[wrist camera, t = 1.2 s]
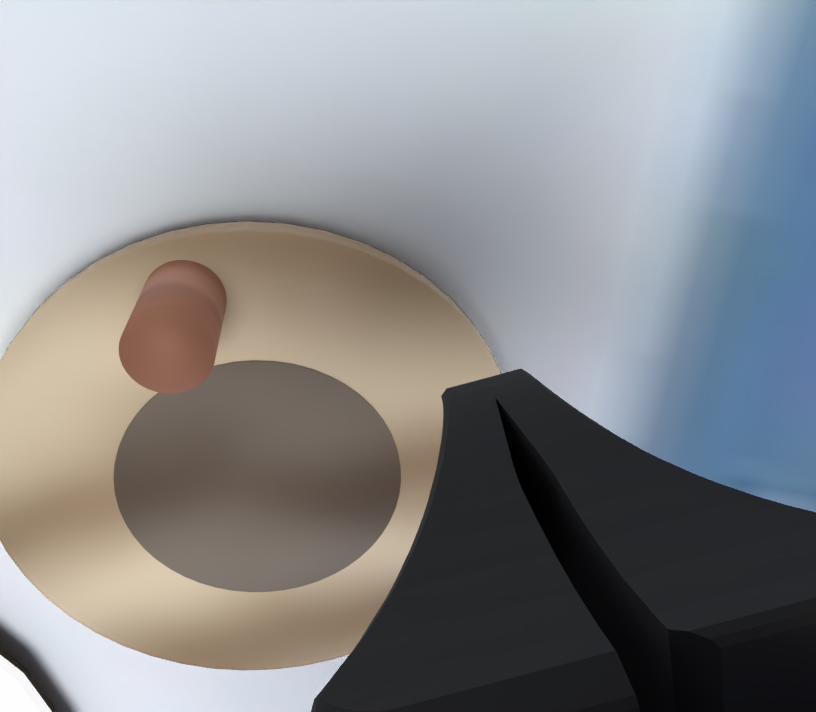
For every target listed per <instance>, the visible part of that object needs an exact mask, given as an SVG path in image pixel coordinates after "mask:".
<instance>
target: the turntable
mask: <svg viewBox="0 0 816 712" xmlns="http://www.w3.org/2000/svg"><path fill="white" fill-rule="evenodd" d="M499 374H501V373H500V371H499V368H498V366H497V364H496V362H495V360H494V358H493V355H492V353H491V351H490V349H489V347H488V346H487V344H486V343H485V341H484V340H483V338H482V337H481V335H480V334H479V332H478V331H477V329H476V328H475V326H474V325H473V323H472V322H471V321H470V320H469V318H468V317H467V316H466V315H465V314H464V313H463V312H462V311H461V309H460V308H459V307H458V306H457V305H456V304H455V303H454V302H453V300H452V299H451V298H450V297H448V296H447V295H446V294H445V293H444V292H442V291H441V290H440V289H439V288H438V287H437V286H435V285H434V284H433V283H432V282H431V281H429V280H428V279H427V278H426V277H425V276H423V275H422V274H420V273H418V272H417V271H415V270H414V269H412V268H410V267H409V266H407V265H406V264H404V263H403V262H401V261H399V260H398V259H396V258H395V257H392V256H390V255H388V254H386V253H384V252H382V251H380V250H377V249H375V248H373V247H371V246H369V245H367V244H364V243H362V242H359V241H356V240H353V239H350V238H347V237H344V236H340V235H337V234H334V233H331V232H328V231H324V230H319V229H313V228H308V227H302V226H297V225H292V224H285V223H268V222H250V221H244V222H229V223H215V224H204V225H199V226H194V227H189V228H184V229H179V230H174V231H169V232H165V233H162V234H159V235H156V236H153V237H150V238H147V239H145V240H142V241H139V242H136V243H133V244H130V245H128V246H126V247H124V248H122V249H120V250H118V251H116V252H114V253H112V254H110V255H108V256H106V257H104V258H102V259H99V260H97V261H96V262H94V263H93V264H91V265H90V266H88V267H87V268H85V269H84V270H82V271H81V272H80V273H78V274H77V275H75V276H74V277H72V278H71V279H69V280H68V281H66V282H65V283H64V284H63V285H62V286H61V287H60V288H59V289H58V290H56V291H55V292H54V293H53V294H52V295H51V296H50V297H49V298H48V299H47V300H46V301H45V302H44V303H42V304H41V305H40V306H39V308H38V309H37V310H36V311H35V313H34V314H33V315H32V316H31V318H30V319H29V320H28V321H27V323H26V324H25V325H24V327H23V328H22V329H21V330H20V332H19V333H18V334H17V336H16V337H15V338H14V340H13V341H12V342H11V344H10V345H9V347H8V348H7V350H6V352H5V354H4V356H3V357H2V359H1V361H0V540H1V542H2V544H3V546H4V548H5V550H6V551H7V553H8V554H9V556H10V557H11V558H12V560H13V561H14V562H15V564H16V565H17V566H18V568H19V569H20V570H21V572H22V573H23V574H24V576H25V577H26V578H27V579H28V580H29V581H30V582H31V583H32V584H33V585H34V586H35V587H36V588H37V589H38V590H39V591H40V592H41V593H42V594H43V595H44V596H45V597H46V598H47V599H48V600H50V601H51V602H52V603H53V604H55V605H56V606H57V607H58V608H60V609H61V610H62V611H63V612H65V613H66V614H67V615H69V616H70V617H71V618H73V619H75V620H76V621H78V622H80V623H81V624H83V625H84V626H86V627H88V628H89V629H91V630H92V631H94V632H96V633H98V634H100V635H102V636H104V637H106V638H108V639H110V640H112V641H114V642H116V643H119V644H121V645H123V646H125V647H128V648H131V649H134V650H136V651H139V652H142V653H145V654H148V655H150V656H154V657H157V658H161V659H165V660H169V661H173V662H177V663H181V664H187V665H194V666H200V667H207V668H214V669H231V670H267V669H280V668H288V667H297V666H304V665H309V664H313V663H318V662H323V661H327V660H332V659H335V658H338V657H342V656H345V655H348V654H350V653H351V652H352V651H353V649H354V648H355V646H356V645H357V644H358V642H359V641H360V639H361V638H362V636H363V634H364V633H365V631H366V630H367V628H368V626H369V625H370V623H371V622H372V620H373V618H374V617H375V615H376V613H377V612H378V610H379V609H380V607H381V605H382V604H383V602H384V601H385V599H386V597H387V595H388V594H389V592H390V590H391V588H392V586H393V584H394V582H395V580H396V578H397V576H398V574H399V572H400V570H401V568H402V566H403V564H404V561H405V559H406V557H407V555H408V553H409V551H410V549H411V546H412V544H413V541H414V539H415V536H416V534H417V531H418V529H419V526H420V523H421V520H422V517H423V514H424V511H425V508H426V505H427V502H428V498H429V494H430V491H431V487H432V483H433V480H434V476H435V472H436V467H437V462H438V456H439V450H440V445H441V439H442V429H443V402H442V398H441V396H442V394H443V393H444V391H445V390H446V388H450V387H454V386H458V385H461V384H465V383H469V382H473V381H477V380H480V379H484V378H488V377H492V376H495V375H499Z"/></svg>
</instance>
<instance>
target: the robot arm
mask: <svg viewBox="0 0 816 712" xmlns="http://www.w3.org/2000/svg"><path fill="white" fill-rule="evenodd" d="M441 398H442V402H443V429H442V439H441V445H440V450H439V456H438V462H437V467H436V472H435V476H434V480H433V483H432V487H431V491H430V494H429V498H428V502H427V505H426V508H425V511H424V514H423V517H422V520H421V523H420V526H419V529H418V531H417V534H416V536H415V539H414V541H413V544H412V546H411V549H410V551H409V553H408V555H407V557H406V559H405V561H404V564H403V566H402V568H401V570H400V572H399V574H398V576H397V578H396V580H395V582H394V584H393V586H392V588H391V590H390V592H389V594H388V595H387V597H386V599H385V601H384V602H383V604H382V605H381V607H380V609H379V610H378V612H377V613H376V615H375V617H374V618H373V620H372V622H371V623H370V625H369V626H368V628H367V630H366V631H365V633H364V634H363V636H362V638H361V639H360V641H359V642H358V644H357V645H356V646H355V648H354V649H353V651H352V652H351V653H350V655H349V656H348V657H347V659H346V660H345V661H344V663H343V664H342V665H341V666H340V668H339V669H338V670H337V672H336V673H335V674H334V676H333V677H332V678H331V679H330V681H329V682H328V683H327V685H326V686H325V687H324V688H323V690H322V691H321V692H320V693H319V694H318V695H317V697H316V698H315V699H314V702H313V706H312V710H311V712H816V512H812V511H808V510H804V509H800V508H796V507H792V506H788V505H784V504H781V503H777V502H774V501H770V500H767V499H764V498H760V497H757V496H754V495H751V494H748V493H745V492H742V491H739V490H736V489H733V488H731V487H728V486H725V485H722V484H719V483H716V482H713V481H711V480H708V479H706V478H703V477H701V476H698V475H695V474H693V473H691V472H689V471H686V470H684V469H682V468H680V467H677V466H675V465H673V464H671V463H668V462H666V461H664V460H662V459H659V458H657V457H655V456H653V455H651V454H649V453H647V452H645V451H643V450H641V449H640V448H638V447H636V446H634V445H633V444H631V443H629V442H627V441H625V440H624V439H622V438H620V437H618V436H617V435H615V434H614V433H612V432H610V431H609V430H607V429H605V428H604V427H602V426H601V425H599V424H598V423H596V422H595V421H593V420H592V419H590V418H589V417H587V416H586V415H584V414H583V413H581V412H579V411H578V410H577V409H575V408H574V407H572V406H571V405H570V404H568V403H567V402H565V401H564V400H563V399H561V398H560V397H559V396H557V395H556V394H555V393H553V392H552V391H551V390H549V389H548V388H547V387H545V386H544V385H543V384H542V383H540V382H539V381H538V380H537V379H535V378H534V377H533V376H532V375H530V374H529V373H527V372H526V371H524V370H523V369H518V370H514V371H511V372H507V373H503V374H499V375H495V376H492V377H488V378H484V379H480V380H477V381H473V382H469V383H465V384H461V385H458V386H454V387H450V388H446V390H445V391H444V393H443V394H442V396H441Z"/></svg>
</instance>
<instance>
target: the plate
mask: <svg viewBox="0 0 816 712" xmlns="http://www.w3.org/2000/svg"><path fill="white" fill-rule="evenodd" d="M0 712H56V711H55V709H54V708H53V707H52V705H51V704H50V702H49V701H48V700H47V698H46V697H45V696H44V694H43V693H42V691H41V690H40V689H39V687H38V686H37V685H36V683H35V682H34V680H33V679H32V678H31V676H30V675H29V674H28V672H27V671H26V669H25V668H23V667H22V666H21V665H20V664H18V663H17V662H16V661H15V660H13V659H12V658H11V657H10V656H8V655H7V654H6V653H5V652H3V651H2V650H1V649H0Z"/></svg>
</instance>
